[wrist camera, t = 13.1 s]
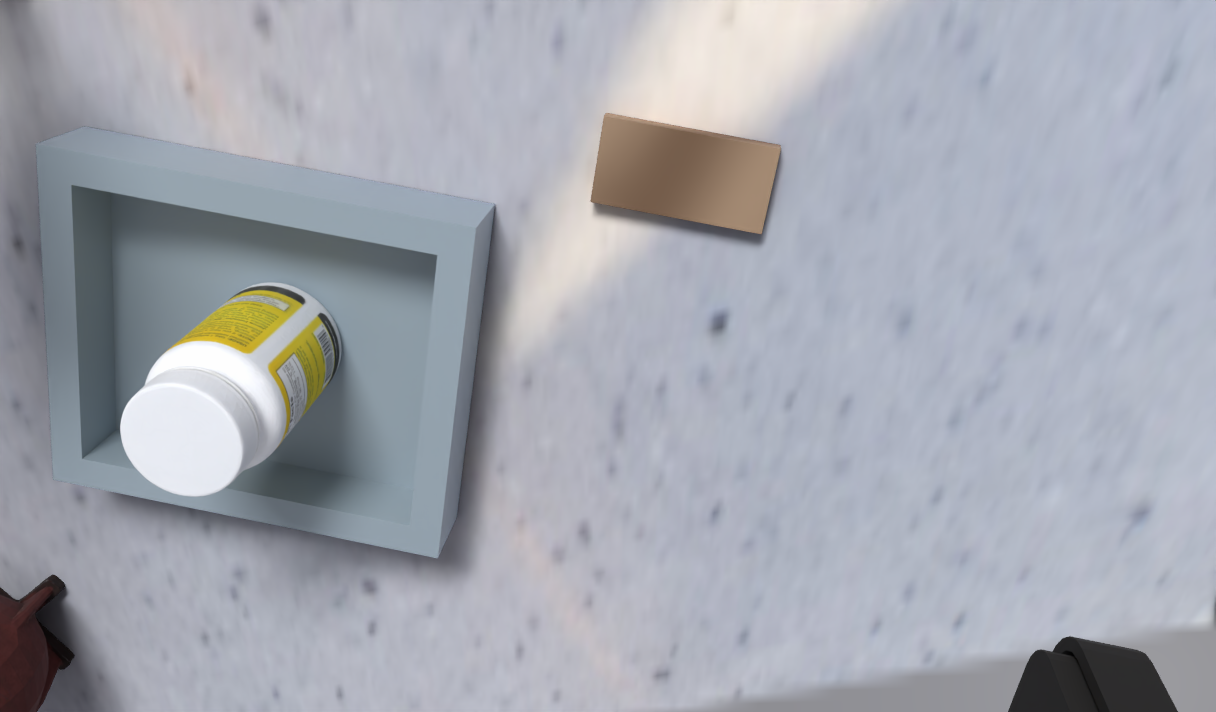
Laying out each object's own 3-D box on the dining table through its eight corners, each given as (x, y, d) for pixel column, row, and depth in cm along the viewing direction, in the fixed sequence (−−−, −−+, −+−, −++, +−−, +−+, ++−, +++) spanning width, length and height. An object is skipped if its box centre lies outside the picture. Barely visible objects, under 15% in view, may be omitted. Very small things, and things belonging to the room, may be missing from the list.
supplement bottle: (198, 332, 42) (75, 432, 34) (275, 254, 40) (164, 340, 33) (292, 418, 43) (193, 534, 35) (370, 345, 41) (284, 450, 34)
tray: (495, 204, 39) (476, 227, 36) (456, 517, 44) (437, 558, 42) (84, 126, 40) (35, 143, 37) (95, 443, 45) (53, 479, 42)
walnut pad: (780, 145, 37) (780, 149, 37) (761, 229, 38) (761, 234, 38) (606, 112, 37) (603, 116, 37) (592, 197, 39) (590, 201, 38)
